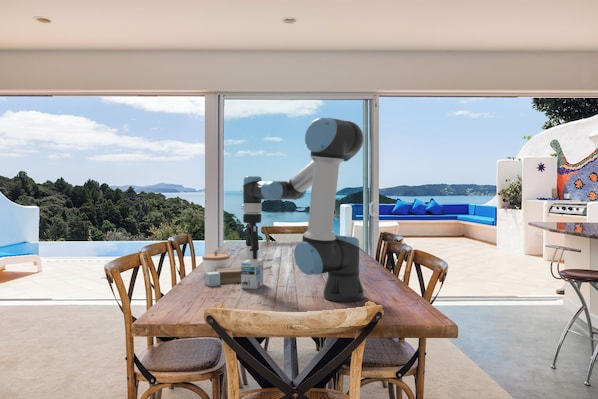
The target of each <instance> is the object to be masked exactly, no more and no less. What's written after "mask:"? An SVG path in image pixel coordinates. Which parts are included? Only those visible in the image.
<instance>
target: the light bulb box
mask: <svg viewBox="0 0 598 399" xmlns="http://www.w3.org/2000/svg"><path fill="white" fill-rule="evenodd" d="M240 265H241V266H240V267H241V282H240V283H241V284H240V288H241V289H246V290H247V289H249V290H257V289H258V288H261V286H263V285H264V259H261V258H260V259H259V258H258V267H251V259H248V260H244V261H242V262H240Z"/></svg>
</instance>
